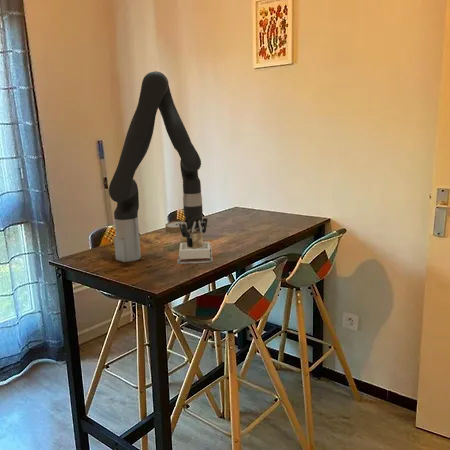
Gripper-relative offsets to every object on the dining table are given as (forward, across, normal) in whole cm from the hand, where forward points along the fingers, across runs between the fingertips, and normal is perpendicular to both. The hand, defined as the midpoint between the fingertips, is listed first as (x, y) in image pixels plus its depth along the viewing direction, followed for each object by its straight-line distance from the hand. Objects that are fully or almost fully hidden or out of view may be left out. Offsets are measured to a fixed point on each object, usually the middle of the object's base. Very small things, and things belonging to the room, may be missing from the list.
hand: (194, 245), depth 190 cm
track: (+5, +3, +3) cm, 7 cm away
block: (+1, 0, 0) cm, 1 cm away
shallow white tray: (+5, 0, 0) cm, 5 cm away
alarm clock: (+5, +28, +40) cm, 49 cm away
